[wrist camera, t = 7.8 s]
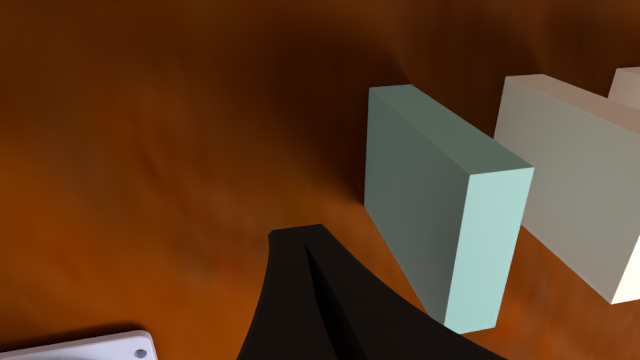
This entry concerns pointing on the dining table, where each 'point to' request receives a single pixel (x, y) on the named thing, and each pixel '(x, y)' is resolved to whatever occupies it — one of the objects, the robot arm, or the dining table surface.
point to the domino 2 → (626, 87)
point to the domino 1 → (579, 178)
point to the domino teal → (443, 204)
